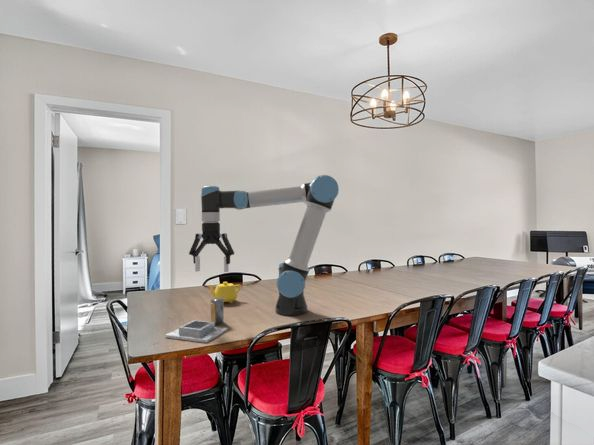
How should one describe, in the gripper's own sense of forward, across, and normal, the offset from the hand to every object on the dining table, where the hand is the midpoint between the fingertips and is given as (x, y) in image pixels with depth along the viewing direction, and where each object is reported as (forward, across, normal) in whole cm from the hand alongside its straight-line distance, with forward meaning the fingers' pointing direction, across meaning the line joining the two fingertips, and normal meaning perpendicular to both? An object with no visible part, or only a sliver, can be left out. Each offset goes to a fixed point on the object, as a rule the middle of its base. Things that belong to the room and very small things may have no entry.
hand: (211, 271), depth 143 cm
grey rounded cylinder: (+21, -3, +2) cm, 22 cm away
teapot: (+22, +10, -31) cm, 39 cm away
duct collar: (+21, -2, +16) cm, 27 cm away
